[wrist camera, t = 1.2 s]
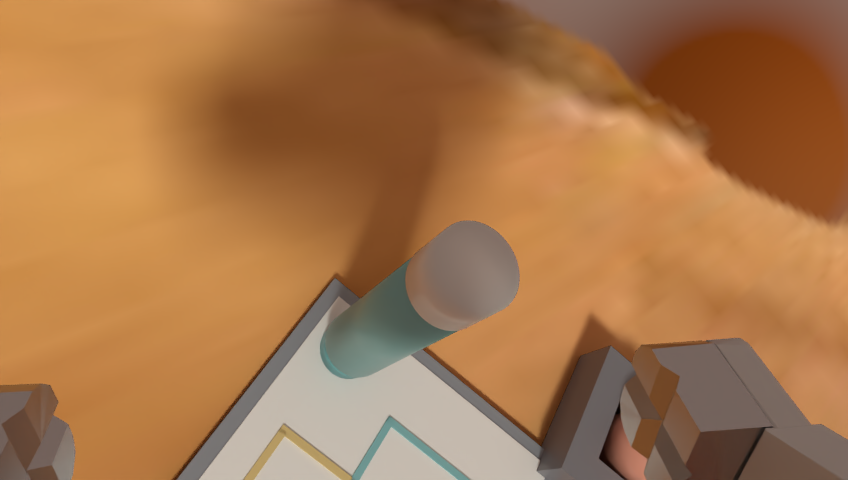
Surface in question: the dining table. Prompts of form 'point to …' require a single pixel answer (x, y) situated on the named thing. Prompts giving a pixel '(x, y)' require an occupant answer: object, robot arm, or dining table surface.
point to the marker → (424, 301)
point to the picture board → (360, 420)
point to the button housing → (586, 418)
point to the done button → (622, 453)
